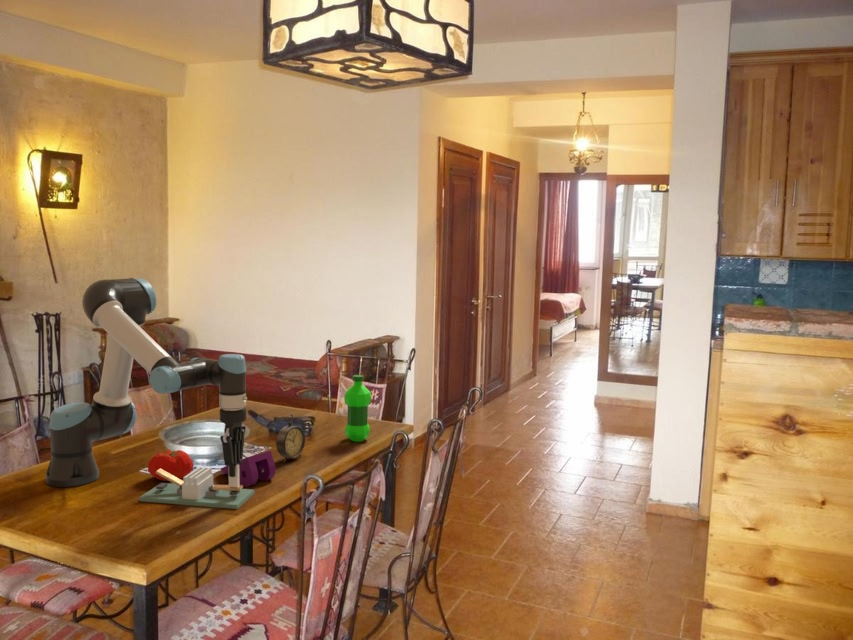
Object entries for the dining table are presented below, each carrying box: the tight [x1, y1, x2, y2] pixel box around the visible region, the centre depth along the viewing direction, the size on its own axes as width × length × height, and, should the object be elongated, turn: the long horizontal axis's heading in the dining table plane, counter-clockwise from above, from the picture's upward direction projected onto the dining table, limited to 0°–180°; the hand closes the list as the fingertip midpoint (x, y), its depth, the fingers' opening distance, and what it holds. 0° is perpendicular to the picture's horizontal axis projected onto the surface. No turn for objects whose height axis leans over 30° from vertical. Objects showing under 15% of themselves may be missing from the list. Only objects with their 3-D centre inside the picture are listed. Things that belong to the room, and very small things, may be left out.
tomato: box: [147, 449, 195, 482], centre depth 235 cm, size 14×13×9 cm
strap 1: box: [156, 468, 184, 488], centre depth 219 cm, size 10×3×1 cm, turn 82°
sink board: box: [138, 466, 255, 510], centre depth 218 cm, size 30×13×8 cm, turn 81°
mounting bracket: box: [220, 450, 277, 487], centre depth 236 cm, size 10×8×18 cm
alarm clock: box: [275, 413, 306, 464], centre depth 257 cm, size 11×5×16 cm, turn 150°
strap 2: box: [208, 483, 244, 491], centre depth 217 cm, size 10×3×1 cm, turn 81°
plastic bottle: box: [343, 374, 372, 443], centre depth 283 cm, size 10×10×25 cm
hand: (234, 486), depth 217 cm, fingers closed
